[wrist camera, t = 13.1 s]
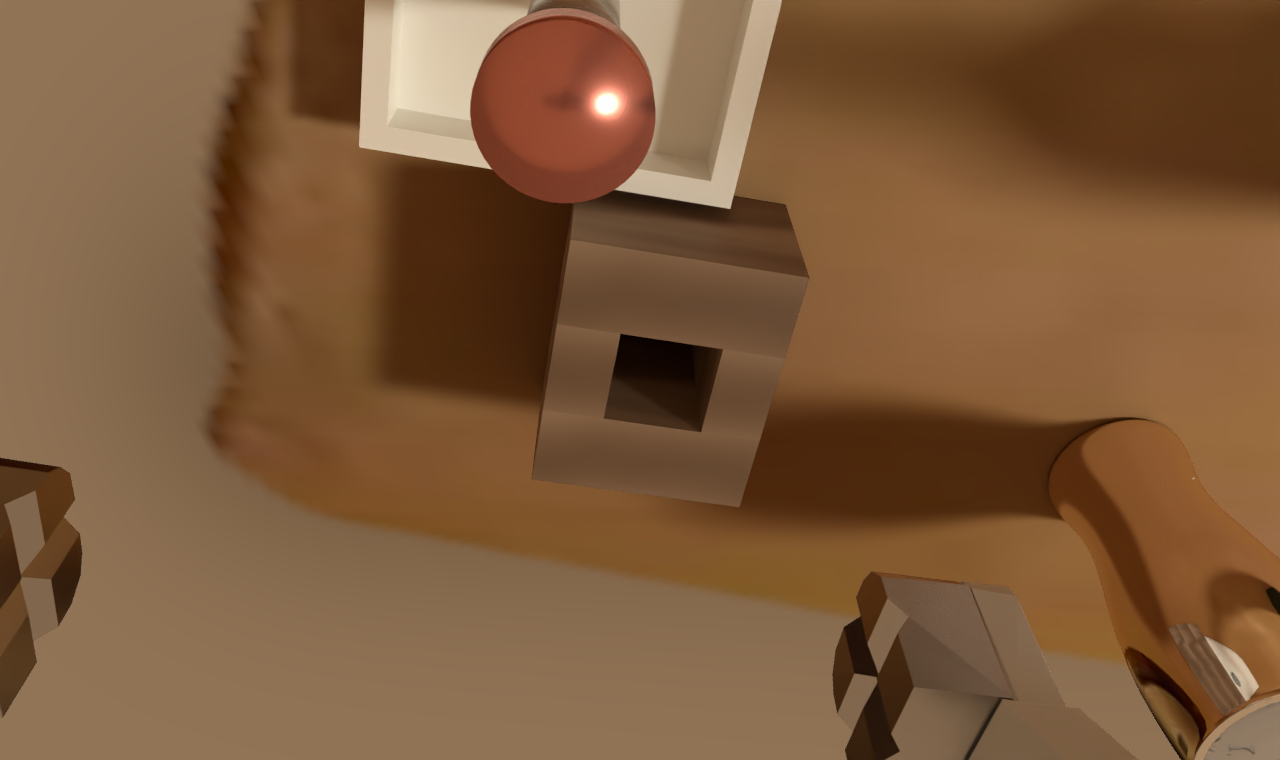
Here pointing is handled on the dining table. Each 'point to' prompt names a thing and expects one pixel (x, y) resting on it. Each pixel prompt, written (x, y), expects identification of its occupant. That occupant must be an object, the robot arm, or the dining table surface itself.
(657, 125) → the tray
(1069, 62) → the dining table surface
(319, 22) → the dining table surface
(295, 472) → the dining table surface
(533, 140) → the pin
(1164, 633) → the beer glass
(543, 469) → the block
